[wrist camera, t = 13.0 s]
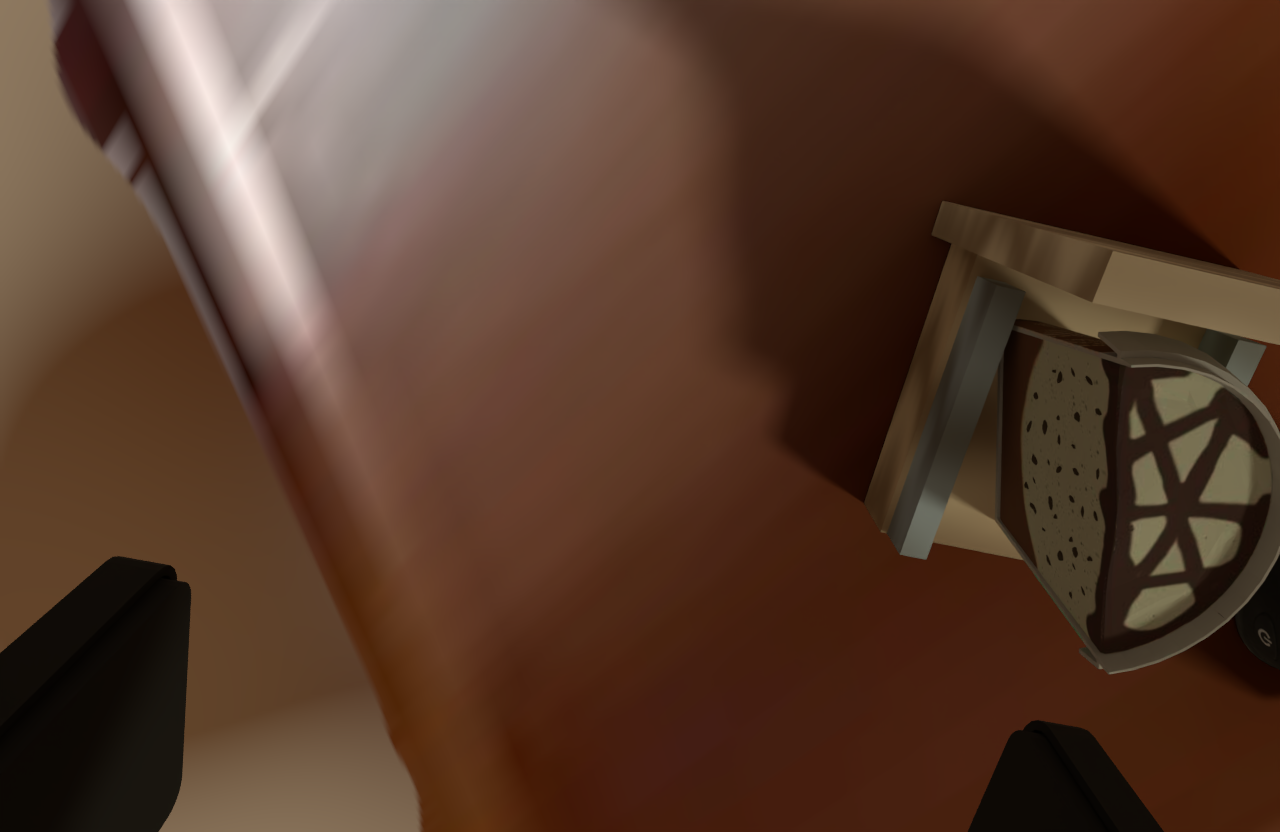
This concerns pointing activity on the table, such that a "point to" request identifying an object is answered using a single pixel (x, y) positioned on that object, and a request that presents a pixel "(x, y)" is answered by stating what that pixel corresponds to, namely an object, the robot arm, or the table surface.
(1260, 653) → the milk frother
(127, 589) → the robot arm
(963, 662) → the table surface
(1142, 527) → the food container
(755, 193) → the table surface
